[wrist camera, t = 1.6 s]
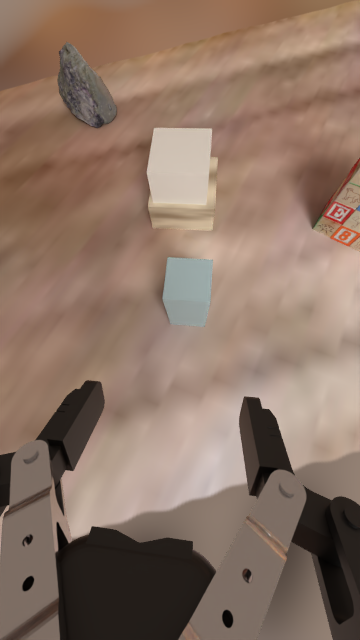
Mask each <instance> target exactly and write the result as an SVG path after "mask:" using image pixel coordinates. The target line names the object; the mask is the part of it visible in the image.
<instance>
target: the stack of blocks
mask: <svg viewBox="0 0 360 640" xmlns="http://www.w3.org/2000/svg"><path fill="white" fill-rule="evenodd" d="M313 230H315V231H317V232H319V233H321V234H324V235H326V236H328V237H330V238H331V239H333V240H336V241H338V242H340V243H342V244H344V245H347V246H349V247H351V248H353V249H355V250H357V251H359V252H360V158H359V159H358V161H357V162H356V164H355V165H354V166H353V168H352V169H351V171H350V173H349V174H348V175H347V177H346V178H345V180H344V181H343V182H342V184H341V185H340V187H339V188H338V189H337V191H336V192H335V193H334V195H333V196H332V197H331V199H330V200H329V201H328V203H327V205H326V206H325V208H324V210H323V212H322V213H321V215H320V217H319V219H318V221H317V223H316V224H315V226H314V228H313Z"/></svg>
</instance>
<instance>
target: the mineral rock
mask: <svg viewBox="0 0 360 640" xmlns="http://www.w3.org/2000/svg"><path fill="white" fill-rule="evenodd" d="M59 54H60V72H59V75H58V86H59V93H60V95H61V97H62V99H63V101H64V102H65V103H66V104H67V107H68V108H70V109H71V112H72V113H73V114H75V116H76V117H77V118H79V119H81V120H83V121H85V122H86V123H88V124H89V125H91V126H95V127H96V128H98V127H100V126H101V125H102V124H107V123H110V122H111V121H112V120H113V118H114V117H115V115H116V112H117V108H116V105H115V104H114V101H113V98H112V96H111V94H110V92H109V90H108V89H107V87H106V86H105V84H104V83H103V81H102V79H101V77H99V76H98V75H97V73H96V72H94V71H93V70H92V69H91V68H90V67H89V65H88V64H87V62H86V61H85V60H84V59H83V58H82V56H81V55H80V53H79V52H78V51H77V49H76V48H75V47H74V46H73V45H71V44H69V43H68V42H67V43H66V44H65V45H64V46H63V48H62V50H61V51H59Z"/></svg>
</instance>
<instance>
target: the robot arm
mask: <svg viewBox="0 0 360 640" xmlns="http://www.w3.org/2000/svg"><path fill="white" fill-rule="evenodd" d="M103 408H104V395H103V390H102V384H101V382H99V381H89V380H87V381H85V382H84V384H83V385H82V387H81V388H80V389H75V390H74V391H72V392H71V393H70V394H69V395H67V396H66V398H65V399H64V401H63V402H62V403H61V405H60V406H59V408H58V409H57V411H56V412H55V413H54V415H53V416H52V418H51V419H50V420H49V422H48V423H47V425H46V426H45V427H44V429H43V430H42V432H41V433H40V434H39V436H38V437H37V438H36V440H35V441H31V442H29V443H27V444H25V445H24V446H22V447H21V448H20V449H19V450H18V451H17V452H13V453H8V454H3V455H0V516H1V515H2V513H3V511H4V510H5V508H6V506H7V505H9V510H8V511H7V512H5V514H4V517H3V523H2V538H1V554H0V640H257V637H258V635H259V632H260V629H261V627H262V624H263V621H264V618H265V616H266V613H267V610H268V607H269V605H270V602H271V599H272V596H273V594H274V591H275V588H276V586H277V583H278V580H279V578H280V575H281V572H282V570H283V567H284V564H285V561H286V557H287V551H288V548H289V545H290V542H293V543H295V544H296V545H298V546H300V547H302V548H304V549H305V550H307V551H309V552H311V555H312V559H313V562H314V566H315V570H316V574H317V578H318V582H319V586H320V590H321V594H322V598H323V602H324V606H325V610H326V614H327V618H328V622H329V626H330V630H331V634H332V638H333V640H360V506H359V505H358V504H357V503H356V502H354V501H352V500H351V499H348V498H346V497H336V498H334V499H333V500H330V499H327V498H325V497H323V496H321V495H319V494H317V493H314V492H312V491H310V490H309V489H307V488H306V487H305V486H304V485H302V483H301V482H300V480H299V479H298V478H297V477H296V476H295V474H294V473H293V470H292V467H291V464H290V461H289V458H288V455H287V452H286V448H285V445H284V442H283V439H282V436H281V433H280V430H279V426H278V423H277V420H276V418H275V416H274V415H273V414H272V412H271V411H270V410H269V409H262V406H261V402H260V399H259V398H255V397H244V399H243V403H242V407H241V412H240V417H239V427H240V434H241V441H242V448H243V455H244V462H245V469H246V475H247V482H248V489H249V495H252V496H256V497H257V501H256V503H255V505H254V506H253V508H252V510H251V512H250V514H249V515H248V516H247V518H246V519H245V521H244V522H243V524H242V526H241V528H240V530H239V532H238V533H237V535H236V537H235V539H234V541H233V542H232V544H231V546H230V548H229V550H228V552H227V553H226V555H225V557H224V559H223V561H222V562H221V565H220V566H219V568H218V570H217V572H216V570H215V569H214V567H213V566H212V565H211V564H210V562H209V561H208V560H207V559H206V558H205V557H204V556H202V555H201V554H200V553H198V552H196V551H195V550H193V542H192V541H186V540H179V539H173V538H163V539H158V540H153V541H148V542H143V543H139V542H137V541H135V540H133V539H131V538H130V537H128V536H126V535H124V534H122V533H120V532H119V531H117V530H113V529H107V528H100V527H94V526H92V528H91V531H90V533H89V535H85V536H83V537H80V538H78V539H76V540H74V541H72V539H71V533H70V529H69V525H68V521H67V515H66V508H65V500H64V493H63V485H62V479H61V477H62V475H63V473H64V472H65V470H70V471H74V469H75V467H76V464H77V462H78V460H79V458H80V456H81V454H82V452H83V450H84V448H85V446H86V444H87V442H88V440H89V438H90V436H91V434H92V432H93V430H94V428H95V426H96V424H97V422H98V420H99V418H100V416H101V413H102V411H103Z"/></svg>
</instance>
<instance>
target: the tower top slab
mask: <svg viewBox="0 0 360 640" xmlns="http://www.w3.org/2000/svg"><path fill="white" fill-rule="evenodd" d="M211 138H212V129H201V128H154V132H153V138H152V144H151V150H150V156H149V162H148V167H147V176H148V181H149V186H150V191H151V196H152V201H153V203H171V204H198V205H206V203H207V192H208V180H209V167H210V152H211Z"/></svg>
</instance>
